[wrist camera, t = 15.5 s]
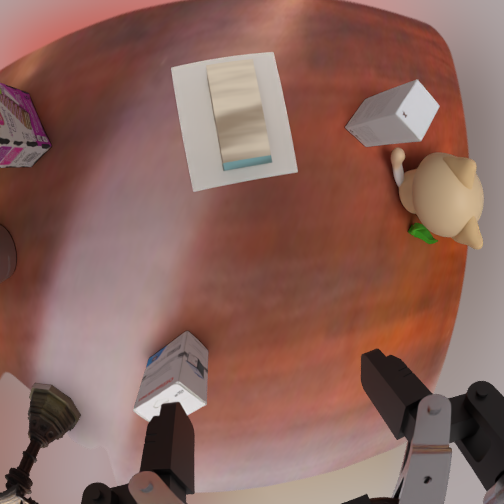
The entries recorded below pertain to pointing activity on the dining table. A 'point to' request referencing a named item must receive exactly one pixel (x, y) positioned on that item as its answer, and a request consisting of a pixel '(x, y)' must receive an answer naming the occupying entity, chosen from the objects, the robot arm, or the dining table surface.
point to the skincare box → (394, 116)
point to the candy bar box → (20, 130)
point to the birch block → (238, 114)
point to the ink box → (174, 377)
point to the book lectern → (39, 437)
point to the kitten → (441, 197)
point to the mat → (204, 131)
